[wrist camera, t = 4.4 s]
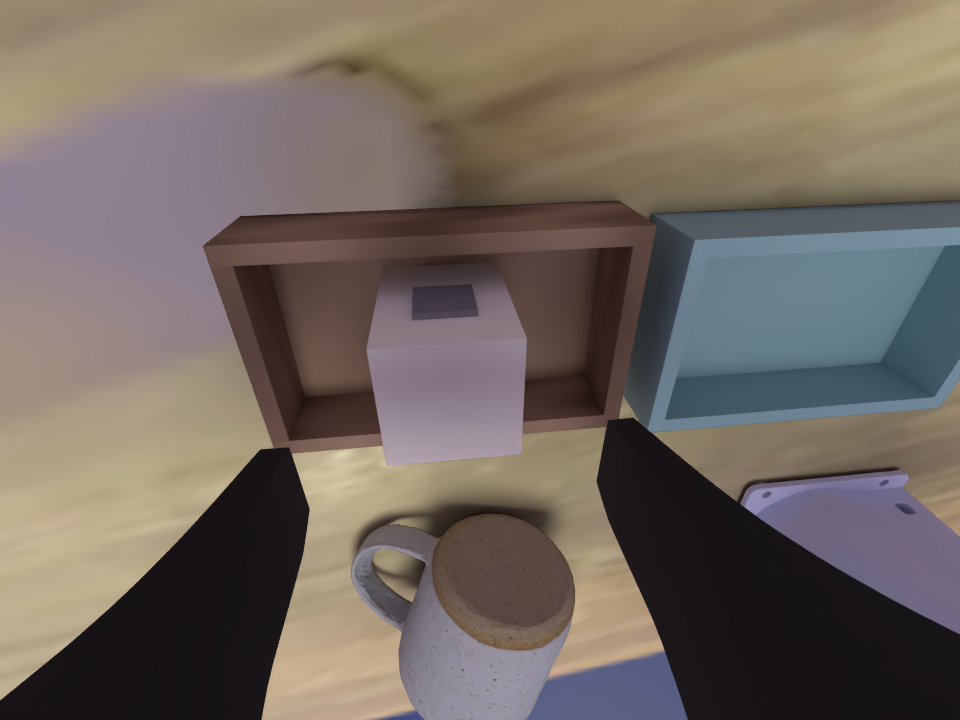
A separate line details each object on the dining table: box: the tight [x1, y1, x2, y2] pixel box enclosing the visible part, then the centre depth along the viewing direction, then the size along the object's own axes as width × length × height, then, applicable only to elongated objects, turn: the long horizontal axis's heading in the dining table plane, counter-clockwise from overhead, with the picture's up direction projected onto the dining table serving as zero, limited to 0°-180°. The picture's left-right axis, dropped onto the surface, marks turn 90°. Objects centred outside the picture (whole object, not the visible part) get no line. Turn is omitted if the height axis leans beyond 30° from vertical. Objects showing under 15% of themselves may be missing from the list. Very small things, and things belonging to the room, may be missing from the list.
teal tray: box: [623, 200, 960, 433], centre depth 17 cm, size 13×8×3 cm, turn 91°
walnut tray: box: [203, 201, 657, 453], centre depth 16 cm, size 13×8×3 cm, turn 91°
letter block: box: [366, 262, 527, 466], centre depth 15 cm, size 4×4×6 cm
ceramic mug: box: [351, 513, 575, 720], centre depth 22 cm, size 11×8×8 cm
